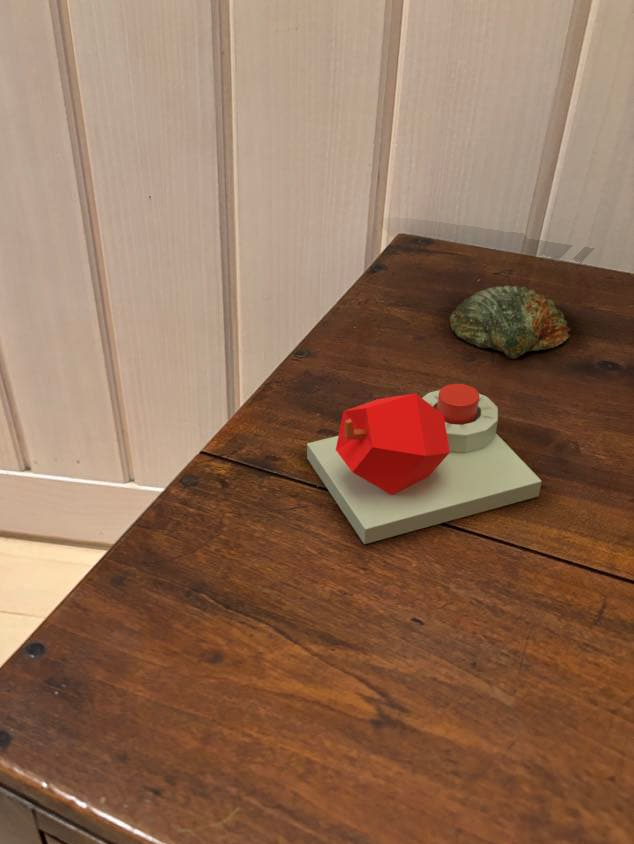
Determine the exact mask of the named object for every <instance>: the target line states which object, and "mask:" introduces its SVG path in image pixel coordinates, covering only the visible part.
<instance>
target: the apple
mask: <svg viewBox="0 0 634 844" xmlns="http://www.w3.org/2000/svg"><path fill="white" fill-rule="evenodd" d="M422 398H423V397H422V396H420V395H419V394H418V393H409V394H403V395H402V394H401V395H396V396H390V397H389V396H388V397H383V398H377V399H374V400H372V401H369V402H366V403H363V404H360V405H357V406H355V407H352V408H349V409H346V410H343V413H342V417H341V422H340V425H339V431H338V435H337V436H338V440H337V445H336V451H337V452H338V454H339V455H340V456H341V458H342V459H343V461H344V462H345V463H346V465H347V466H348V467H349V469H350V470H351V471H352V472H353V473H354V474H356V475H358V476H359V477H361V478H363V479H365V480H366V481H368V482H370V483H371V484H373V485H375V486H377V487H378V488H380V489H382V490H384V491H385V492H387V493H389V494H390V495H394V494H396V493H398V492H400V491H401V490H403V489H405V488H407V487H409V486H411V485H413V484H415V483H417V482H419V481H421V480H423V479H425V478H427V477H429V476H430V474H431V473H432V472H433V471H434V470H435V469H436V468H437V467H438V465H439V464H440V463H441V462H442V461H443V460H444V459H445V458H446V457H447V455H448V454H449V453H450V449H449V443H448V437H447V432H446V426H445V420H444V415H443V414H442V413H440V412H439V411H438V410H436V409H435V408H434V407H433V406H431V405H430V404H429V403H427V402H426V401H425V400H424V399H422Z"/></svg>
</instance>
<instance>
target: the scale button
mask: <svg viewBox="0 0 634 844" xmlns="http://www.w3.org/2000/svg"><path fill="white" fill-rule="evenodd" d="M439 390H440V391H439V396H438V404H437V410H438V411H439V412H440V413H442V414H443V415H444V420H445V422H446V423H449V424H457V425H464V424H468V423H472V422H473V421H474V420H475V419H476V416H477V409H478V403H479V394H480V393H479V391H478V390H477V389H476V388H474V387H473V386H471V385H468V384H464V383H450V384H446V385H445V386H443V387H441V388H440V389H439Z"/></svg>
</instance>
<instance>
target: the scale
mask: <svg viewBox="0 0 634 844" xmlns="http://www.w3.org/2000/svg"><path fill="white" fill-rule="evenodd" d="M440 390H441V389H438V390H434V391H430V392H428V393H426V394H425V395H424V396H423V397H421V398H422V399H424V400H425V401H426V402H427V403H429V404H430V405H431V406H433V407H434V408H435V409H436V410H437V404H438V396H439V391H440ZM498 422H499V408H498V406H497V405H496V404H495V403H494V402H493V401H492V400H491V399H490V398H489V397H488V396H486V395H484V394H481V393H479V403H478V409H477V416H476V419H475V420H474V421H473V422H472V423H468V424H464V425H457V424H449V423H446V422H445V426H446V432H447V437H448V443H449V449H450V453H449V454H448V455H447V457H446V458H445V459H444V460H443V461H442V462H441V463H440V464H439V465H438V467H437V468H436V469H435V470H434V471H433V472H432V473H431V474H430V476H429V477H427V478H425V479H423V480H421V481H419V482H417V483H415V484H413V485H411V486H409V487H407V488H405V489H403V490H401V491H400V492H398V493H396V494H394V495H390V494H389V493H387V492H385V491H384V490H382V489H380V488H378V487H377V486H375V485H373V484H371V483H370V482H368V481H366V480H365V479H363V478H361V477H359V476H358V475H356V474H354V473H353V472H352V471H351V470H350V469H349V467H348V466H347V465H346V463H345V462H344V461H343V459H342V458H341V456H340V455H339V454H338V452H337V451H336V445H337V440H338V436H339V435H336V436H331V437H328V438H323V439H319V440H315V441H311V442H307V444H306V459H307V461H308V462H309V464H310V465H311V466H312V468H313V470H314V471H315V473H316V475H317V476H318V477H319V479H320V480H321V481H322V483H323V484H324V486H325V487H326V489H327V491H328V492H329V493H330V495H331V497H332V498H333V500H334V501H335V503H336V504H337V505H338V507H339V508H340V510H341V512H342V514H343V515H344V517H346V519H347V521H348V522H349V524H350V525H351V527H352V528H353V530H354V531H355V533H356V534H357V536H358V537H359V539H360V540H361V541H362V543H363V545H367V544H371V543H375V542H379V541H382V540H386V539H388V538H392V537H396V536H399V535H404V534H407V533H410V532H414V531H419V530H422V529H425V528H429V527H433V526H437V525H440V524H444V523H447V522H450V521H455V520H459V519H462V518H465V517H470V516H472V515H473V516H474V515H476V514H480V513H483V512H487V511H491V510H494V509H498V508H501V507H505V506H509V505H512V504H517V503H520V502H523V501H528V500H531V499H535V498H538V497H539V496H540V492H541V487H542V482H543V481H542V480H541V478H539V477H538V475H537V474H536V473H535V472H534V470H532V469H531V468H530V467H529V466H528V464H526V463H525V461H523V459H521V458H520V457H519V455H517V453H516V452H515V451H514V450H513V449H512V448H511V447H510V446H509V445H508V444H507V443H506V442H505V441H504V439H502V437H500V435H498V434H497V428H498Z"/></svg>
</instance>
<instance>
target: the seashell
mask: <svg viewBox="0 0 634 844" xmlns="http://www.w3.org/2000/svg"><path fill="white" fill-rule="evenodd" d="M449 321H450V327H451V330H452V331H453V333H454V334H455V335H456V336H457V337H458V338H460V339H462V340H464V341H465V342H467V343H468V344H471V345H473V346H476V347H478V348H481V349H490V350H491V349H492V350H494V351H499V352H502V353H503V354H505V355H506V356H507V357H508V359H512V360H516V359H518V358H519V357H520V356H523V355H524V354H525V353H528V352H532V351H545V350H549V349H553V348H556V347H558V346H559V345H562V344H564V342H566V341H567V340H568V339H569V337H570V334H569V333H568V332H570V331H571V328H570V327H568V322H567V320H566V319H565V315H564V313H563V312H562V311H561V310H559V309H557V308H556V305H555V303H554V301H553V300H552V299H546V298H545V296H544V294H539V293H538V294H537V292H536V291H535V290H534V289H530V290H529V289H528V288H527V287H526V286H521V287H520V286H519V285H514V286H511V285H505V286H502V285H499V286H493V287H492V286H491V287H488V288H486V289H481V290H479V291H477V292H475V293H474V294H472V295H470V296H469V297H467V298H465V299H464V300H463V301H462V302H461V303H459V304H458V305H457V307H456V309H455V310H453V311H452V312H451V315H450V316H449Z"/></svg>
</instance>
